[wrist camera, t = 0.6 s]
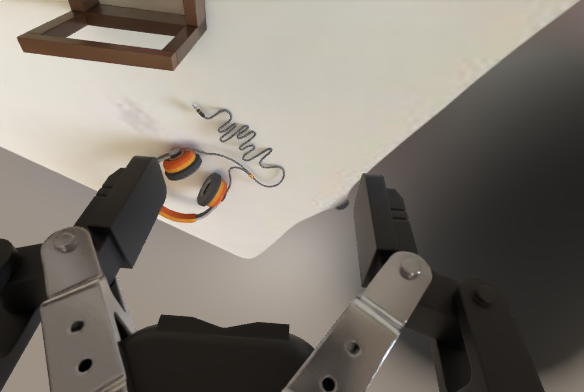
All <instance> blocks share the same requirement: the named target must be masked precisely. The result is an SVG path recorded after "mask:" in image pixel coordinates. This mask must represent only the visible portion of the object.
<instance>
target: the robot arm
mask: <svg viewBox="0 0 584 392" xmlns="http://www.w3.org/2000/svg"><path fill="white" fill-rule="evenodd" d="M166 193H167V190H166V184H165V181H164V178H163V175H162V171H161V168H160V165H159V162H158V160H157V158H155V157H145V156H134V157H133V158H132V159H131V161H130V162H129V164H128V165H127V167H126V168H120V169H118V170H117V171H116V172H114V173H113V174H111V175H110V176H109V177H108V178H107V180H106V181H105V183H104V184H103V185H102V188H100V190H99V191H98V192H97V194H96V196H95V197H94V198H93V200H92V201H91V202H90V204H89V205H88V206H87V208H86V209H85V211H84V212H83V213H82V215H81V216H80V218H79V219H78V220H77V222H76V223H75V225H74V226H73V227H67V228H64V229H61V230H59V231H57V232H55V233H53V234H52V235H50V236H49V237H48V238H47V239H46V240H45V241H44V243H42V244H37V245H31V246H26V247H20V248H15V247H14V246H13V245H12V244H11V243H10V242H9V241H8V240H5V239H0V392H1V390H2V388H3V387H4V385H5V383H6V381H7V380H8V378H9V376H10V374H11V373H12V371H13V369H14V367H15V366H16V364H17V362H18V360H19V359H20V357H21V355H22V353H23V351H24V350H25V348H26V346H27V345H28V343H29V341H30V339H31V338H32V336H33V334H34V332H35V330H36V329H37V327H38V325H39V323H40V322H41V323H42V332H43V339H44V347H45V354H46V362H47V369H48V377H49V385H50V392H365V391H366V389H367V388H368V386H369V384H370V383H371V381H372V379H373V378H374V376H375V375H376V373H377V371H378V370H379V368H380V366H381V365H382V363H383V361H384V360H385V358H386V356H387V355H388V353H389V351H390V350H391V348H392V346H393V345H394V343H395V342H396V340H397V338H398V337H399V335H400V333H401V331H402V329H403V327H407V328H409V329H412V330H414V331H416V332H419V333H421V334H424V335H426V336H429V337H430V343H431V349H432V354H433V359H434V365H435V370H436V375H437V380H438V386H439V391H440V392H545V391H544V389H543V386H542V384H541V381H540V379H539V376H538V374H537V371H536V369H535V366H534V364H533V362H532V359H531V356H530V354H529V351H528V349H527V346H526V343H525V341H524V339H523V336H522V333H521V331H520V328H519V326H518V323H517V321H516V318H515V316H514V313H513V311H512V308H511V306H510V303H509V301H508V298H507V296H506V295H505V293H504V292H503V291H502V289H501V288H499V287H498V286H497V285H496V284H495V283H493V282H492V281H490V280H488V279H486V278H483V277H479V276H470V277H467V278H465V279H464V280H463V281H462V282H460V281H457V280H454V279H451V278H448V277H446V276H443V275H440V274H438V273H436V272H434V271H432V270H431V268H430V266H429V265H428V263H427V262H426V261H425V260H424V259H423V258H421V257H420V256H419V255H418V252H417V248H416V244H415V241H414V237H413V233H412V230H411V226H410V222H409V221H408V215H407V212H406V208H405V205H404V201H403V198H402V197H401V196H400V194H399V193H398V192H397V191H396V190H395V189H388V188H386V185H385V181H384V177H383V175H377V174H365V173H363V174H362V176H361V180H360V184H359V188H358V191H357V195H356V199H355V203H354V222H355V231H356V240H357V249H358V259H359V267H360V276H361V285H362V287H365V288H366V289H365V290H364V291H363V293H362V294H361V295H360V296H359V297H356V298H355V299H354V300H353V301H352V302H351V303H350V305H349V306H348V307H347V308H346V310H345V311H344V312H343V314H342V315H341V316H340V318H339V319H338V320H337V321H336V323H335V324H334V325H333V326H332V328H331V329H330V330H329V332H328V333H327V334H326V335H325V337H324V338H323V339H322V341H321V342H320V343H319V344H318V346H317V347H316V348H315V349H314V348H313V347H312V346H311V345H310V344H308V343H307V342H305V341H304V340H303V339H301V338H299V337H297V336H295V335H293V334H290V333H289V324H276V323H263V322H256V323H251V324H244V325H239V326H233V327H228V328H222V327H219V326H215V325H213V324H210V323H207V322H205V321H202V320H199V319H197V318H194V317H185V316H173V315H161V316H160V319H159V322H158V324H156V325H152V326H149V327H146V328H143V329H141V330H139V331H137V330H136V328H135V326H134V324H133V322H132V319H131V317H130V314H129V311H128V308H127V305H126V302H125V299H124V295H123V292H122V289H121V286H120V283H119V280H118V278H117V276H116V275H117V273H118V271H119V269H120V268H130V269H132V268H133V266H134V264H135V262H136V260H137V258H138V255H139V254H140V252H141V249H142V247H143V245H144V243H145V241H146V239H147V237H148V235H149V233H150V231H151V229H152V226H153V225H154V223H155V221H156V218H157V216H158V214H159V212H160V210H161V208H162V206H163V204H164V202H165V199H166Z"/></svg>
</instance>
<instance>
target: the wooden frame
mask: <svg viewBox="0 0 584 392" xmlns="http://www.w3.org/2000/svg"><path fill="white" fill-rule="evenodd" d="M68 1H69V4H70V7H71V10H72V11H70V12H68V13H66V14H64V15H62V16H60V17H57V18H55V19H53V20H51V21H49V22H47V23H45V24H43V25H41V26H39V27H37V28H35V29H32V30H30V31H28V32H26V33H24V34H22V35H20V36H18V37H17V39H18V41H19V44H20V46H21V48H22V50H23V52H27V53H35V54H43V55H51V56H59V57H67V58H75V59H83V60H90V61H98V62H106V63H114V64H122V65H130V66H138V67H146V68H154V69H162V70H170V71H174V70H175V68H176V67H177V66H178V65H179V64H180V62H181V61H182V60H183V59H184V57H185V56H186V55H187V54H188V52H189V51H190V50H191V49H192V47H193V46H194V45H195V44H196V42H197V41H198V40H199V39H200V37H201V36H202V35H203V34H204V32H205V31H206V30H207V29H206V15H205V2H204V0H183V4H184V13H185V15H178V14H171V13H163V12H155V11H148V10H140V9H133V8H125V7H117V6H110V5H102V4H99V1H98V0H68ZM87 25H91V26H99V27H107V28H115V29H122V30H130V31H138V32H146V33H153V34H161V35H169V36H175V37H174V38H173V39H172V40H171V41H170V42H169V43H168V44H167V45H166V46H165V47H164V48H163V49H162V50H157V49H149V48H142V47H134V46H126V45H118V44H110V43H102V42H95V41H87V40H79V39H71V38H66V37H68V36H70V35H71V34H73V33H75V32H77V31H78V30H80V29H82V28H83V27H85V26H87Z"/></svg>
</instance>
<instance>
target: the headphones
mask: <svg viewBox="0 0 584 392" xmlns="http://www.w3.org/2000/svg"><path fill="white" fill-rule="evenodd" d="M192 106H193V107H194V108H195V109H196V110H197V112H198V113H199V114H200V115H201V116H202V117H204V118H205V119H212V118H213V117H215V116H216V115H218V114H219V113H221V112H224V111H226V112H228V113H229V115H230V120H229V121H228V122H226V123H225V124H224V125H223V126H221V127H220V128H219V129H218V131H219V132H220V133H222V132H225V131H226V130H228V129H230V128H231V127H232V126H234V125H235V126H234V127H233V128H232V129H231V130H230V131H228V132H227V133H226V134H224V135H223V136H222V137H221V138H220V141H221V142H226V141H228V140H229V139H231V138H232V137H233V136H235V135H236V134H237V133H238V132H240V131H241V130H242V129H243V128H245V127H247V128H246V129H245V130H243V131H242V132H240V133H239V134H238V135H237V138H238V139H242V138H244V137H246V136H248V135H249V134H251V133H254V136H253V137H252V138H251V139H249V140H248V141H246V142H245V143H243V144H242V145H241V146H240V147H239V149H240V150H244V149H246V148H248V147H251V146H253V147H254V148H253V149H252V150H250V151H249V152H247V153H246V154H244V155H243V158H242V159H243V160H244V161H250V160H252V159H254V158H256V157H258V156H259V155H261V154H263V153H264V152H266V151H268V150H271V151H270V152H269V153H268V154H266V155H265V156H264V157H263V158H262V159H261V160H260V162H259V164H260V166H261V167H263V168H281V169H282V171H283V178H282V180H281V181H280V182H279V183H278V184H276V185H273V186H266V185H263V184H261V183H259V182H258V181H257V180H256V179H255V178H254V176H253V175H252V174H251V173H249V172H248V171H247V170H246V169H245V168H244V167H243V166H242V165H240V164H239V163H238V162H236V161H235V160H233V159H231V158H229V157H226V156H223V155H220V154H216V153H205V152H202V151H200V150H196V149H189V148H181V149H174V150H172V151H171V152H170V153H167V154H164V155H162V156H160V157H158V158H157V160H158V162H161V161H163V160H164V162H163V166H164V169H165V170H166V171H165V175H166V176H167V178H168V179H169V180H172V181H177V180H181V179H184V178H186V177H188V176H190V175H192V174H193V173H194V172H195V171H196V170H197V169H198V168H199V167H200V165H201V163H202V159H201V158H200V156H199V155H198V154H196V153H194V152H193V151H198V152H201V153H203V154H207V155H218V156H221V157H225V158H227V159H229V160H232V161H233V162H235V163H237V164H238V165H239V166H241V167H242V168H243V169H242V168H240V167H231V168H230V169H229V171H228V172H229V177H230V184H229V187H228V189H227V184H226V182H225V181H224V180H222V179H221V176H220V175H218V174H217V173H214V174H212V175H210V176H209V177H208V179H207V180H206V181H205V183H204V184H203V186H202V188H201V190H200V192H199V194H198V197H197V202H198V204H199V205H201V206H203V207H204V206H206V205H207V206H209V207H210V208H209V209H207V210H206V211H205V212H203V213H200V214H197V215H196V214H182V213H178V212H174V211H172V210H169V209H167V208H166V207H164V206H162V208H161V210H160V212H159V215H161V216H163V217H165V218H167V219H170V220H172V221H176V222H182V223H193V222H196V220H199V219H202V218H204V217H206V216H208V215H209V214H210V213H211V212H212V211H213V210H214V209H215V208H216V207H217V206H218V205H219V204H220V202H222V201H223V200H224V199H225V197H226V193H227V192H228V190H229V188H230V186H231V174H230V170H231V169H233V168H238V169H241V170H243V171H244V172H246V173H247V174H248V175H249V176H250V177H251V178H253V179H254V180H255V181H256V182H257V183H258V184H260V185H262V186H264V187H275V186H277V185H279V184H280V183H281V182H282V181H283V179H284V176H285V172H284V169H283V168H282V167H279V166H272V167H264V166H262V165H261V162H262V160H263V159H264V158H265V157H266V156H268V155H269V154H270V153H271V152H272V149H271V148H269V149H267V150H265V151H263V152H261V153H260V154H258V155H256V156H255V157H253V158H251V159H249V160H245V159H244V157H245V156H246V155H247V154H248V153H250V152H251V151H253V150H254V149H255V146H254V145H249V146H247V147H245V148H243V149H241V147H242V146H243V145H245V144H246V143H248V142H249V141H251V140H252V139H253V138H254V137H255V136H256V133H255V132H254V131H251V132H249V133H248V134H247V135H245V136H243V137H240V138H239V135H240V134H242V133H243V132H245V131H246V130H248V129H249V126H247V125H246V126H243V127H242V128H241V129H239V130H238V131H237V132H236V133H234V134H233V135H232V136H231V137H229V138H228V139H226V140H224V141H222V140H221V139H222V138H223V137H224V136H226V135H227V134H229V133H230V132H231V131H232V130H234V129H235V128H236V124H232V125H231V126H229V127H228V128H227V129H225V130H223V131H220V129H221V128H223V127H224V126H226V125H227V124H228V123H229V122H230V121H231V120H232V115H231V113H230V112H229V111H228V110H221V111H219V112H217V113H216V114H215V115H213V116H212V117H210V118H207V117H205V115H204V114H203V113H202V112H201V110H200V109H198V108H197V107H196V106H195V105H194V104H192ZM192 150H193V151H192ZM226 190H227V191H226Z"/></svg>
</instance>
